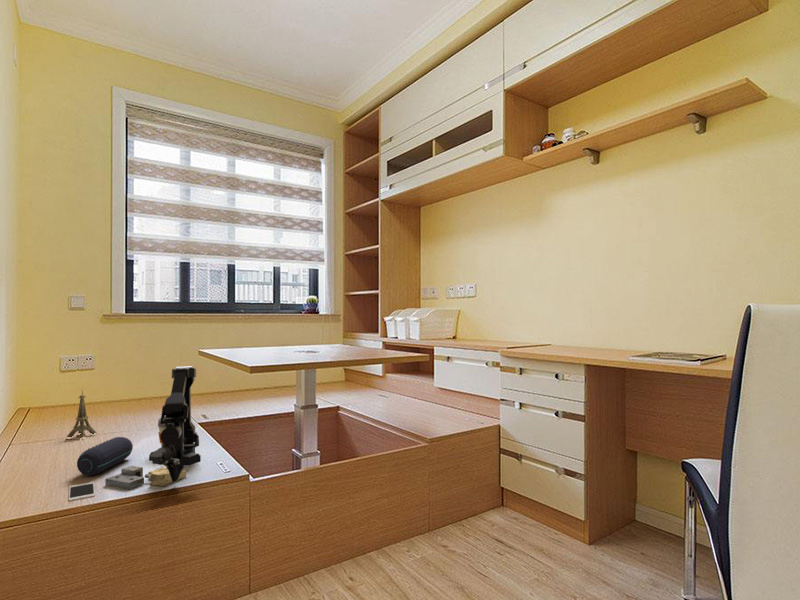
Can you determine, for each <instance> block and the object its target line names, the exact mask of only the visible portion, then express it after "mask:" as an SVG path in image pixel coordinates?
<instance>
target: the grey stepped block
mask: <svg viewBox="0 0 800 600" xmlns="http://www.w3.org/2000/svg"><path fill="white" fill-rule="evenodd" d="M104 483H105V485H104V486H105V487H110V488H117V489H120V490H121V489H122V490H126V491H127V490H128V491H129V490H133V489H136V488H138V487H140V486H139V485H141V486H143V485H145V476H144V468H143V467H142V466H135V465H130V466H126V467H123V468H121V473H119V474H115V475H112V476H109V477H106V478H105V479H104ZM142 484H143V485H142ZM137 486H138V487H137ZM135 487H136V488H135ZM132 488H133V489H132Z"/></svg>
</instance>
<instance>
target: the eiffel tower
mask: <svg viewBox="0 0 800 600" xmlns="http://www.w3.org/2000/svg"><path fill="white" fill-rule="evenodd" d="M83 388H84V387H82V389H81V395H79V396H78V399H79V406H78V411H77V416H76V417H75V420H76V421H75V424H74V426H73V427H72V428H73V429H72V430H70V432H69V433H67V435H66V437H72V436H73V437H74V436H75V434H76V433H77V434H78V433H81V434H80V436H79V438H80V437H81V438H82V437H87V435H86V433H85V431H87V432H88V433H90V434H91V433H92V434H94V433H97V434H98V431H96V430H95V429H94V427H92V426H91V424H90V423H89V420H88V418H89V416H87V409H86V403H85V398H86V395H85V394H83V393H84V392H83Z"/></svg>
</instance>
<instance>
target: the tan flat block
mask: <svg viewBox="0 0 800 600" xmlns="http://www.w3.org/2000/svg"><path fill="white" fill-rule="evenodd" d="M186 477H187V470H184V469H182V471H181V473H180V475H179V478H178V480H177V481H180V480H181V479H184V478H186ZM144 479H150V485H154V486H158V487H164V486H167V485H169V484H172V483H174V482H173V481H172V479H171V476H170V473H169V471H168V469H167V467H166V466H162V467H160V468H156V469H153V470H151V471H148V473H146V474H144Z"/></svg>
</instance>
